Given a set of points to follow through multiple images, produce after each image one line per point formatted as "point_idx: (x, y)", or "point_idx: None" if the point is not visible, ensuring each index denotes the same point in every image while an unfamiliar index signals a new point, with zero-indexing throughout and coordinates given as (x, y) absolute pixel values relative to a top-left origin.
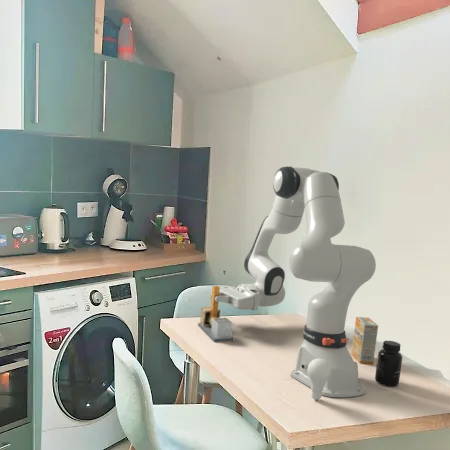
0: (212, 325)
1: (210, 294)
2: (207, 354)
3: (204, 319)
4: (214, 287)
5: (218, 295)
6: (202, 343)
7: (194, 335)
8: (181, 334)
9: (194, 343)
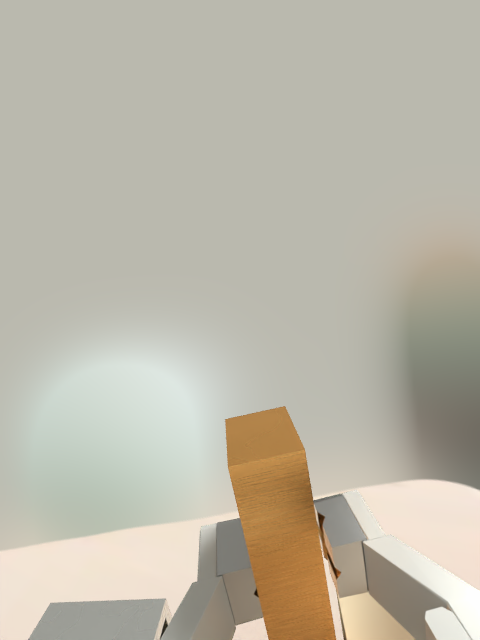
0: None
1: (338, 495)
2: (16, 567)
3: (343, 636)
4: (236, 420)
5: (249, 557)
6: (121, 583)
7: None
8: None
9: (140, 545)
